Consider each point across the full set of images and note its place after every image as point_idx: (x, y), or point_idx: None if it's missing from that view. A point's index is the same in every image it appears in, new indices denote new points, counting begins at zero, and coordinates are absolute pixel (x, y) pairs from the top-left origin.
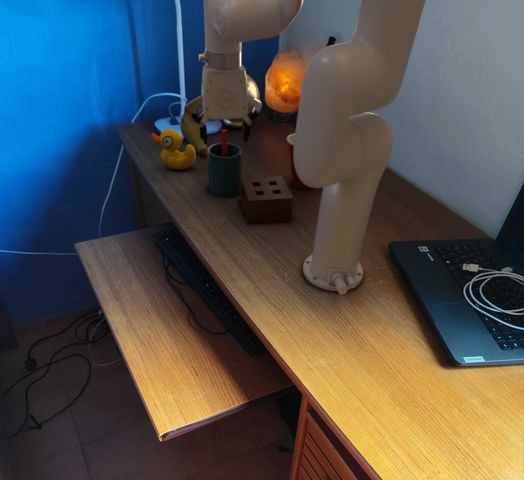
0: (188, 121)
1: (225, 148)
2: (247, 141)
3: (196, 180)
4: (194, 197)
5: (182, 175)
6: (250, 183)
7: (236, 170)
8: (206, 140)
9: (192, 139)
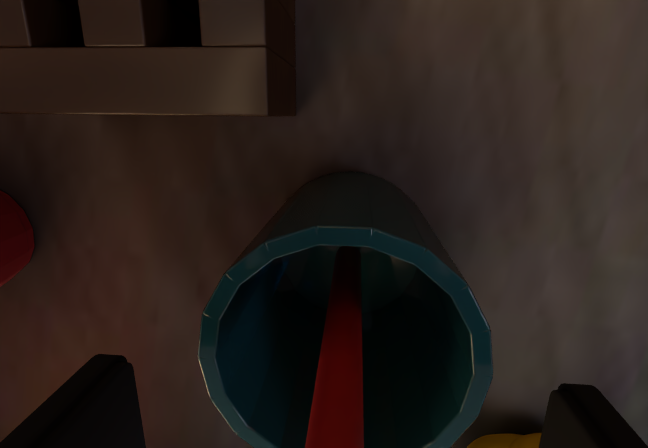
0: None
1: (335, 366)
2: (93, 357)
3: None
4: (518, 188)
5: (521, 390)
6: (209, 30)
7: (281, 215)
8: (587, 416)
9: None
